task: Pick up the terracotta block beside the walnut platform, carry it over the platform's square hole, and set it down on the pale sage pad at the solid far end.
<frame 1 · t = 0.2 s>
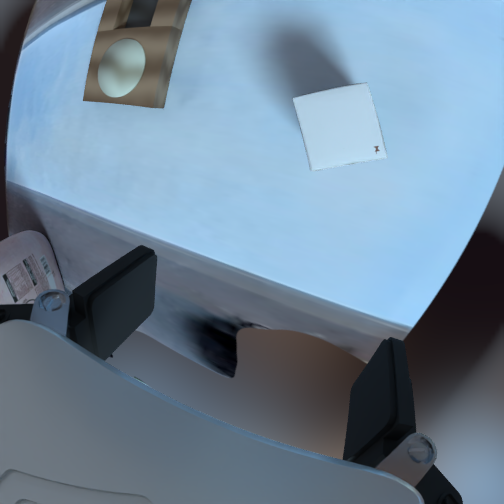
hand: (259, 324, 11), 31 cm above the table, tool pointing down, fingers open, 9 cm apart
supplement box: (342, 128, 35), on the table
packaged food: (55, 263, 64), on the table
hole platform: (140, 36, 36), on the table
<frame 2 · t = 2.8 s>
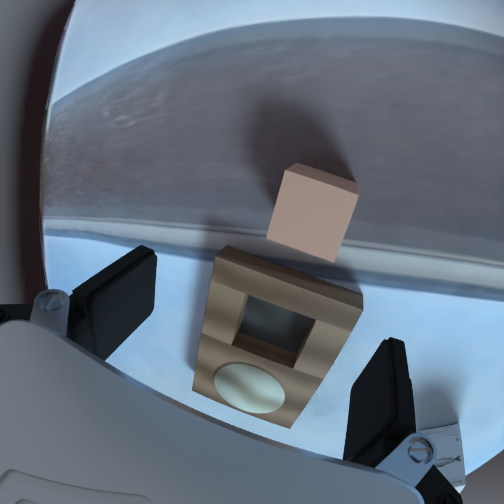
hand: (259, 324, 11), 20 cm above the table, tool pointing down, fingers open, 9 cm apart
block: (317, 200, 29), on the table
supplement box: (436, 435, 36), on the table
hole platform: (266, 347, 38), on the table
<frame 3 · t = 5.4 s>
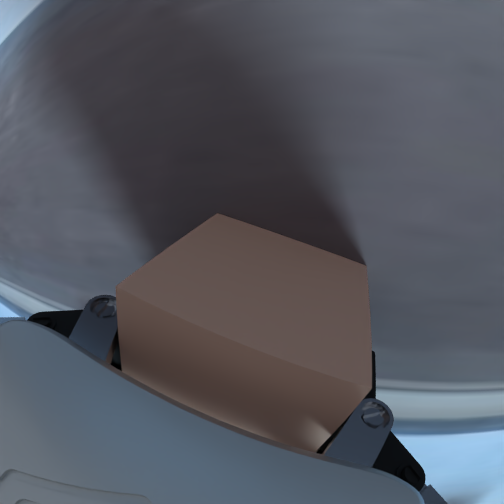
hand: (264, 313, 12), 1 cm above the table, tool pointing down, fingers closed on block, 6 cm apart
block: (270, 302, 12), on the table, touching gripper
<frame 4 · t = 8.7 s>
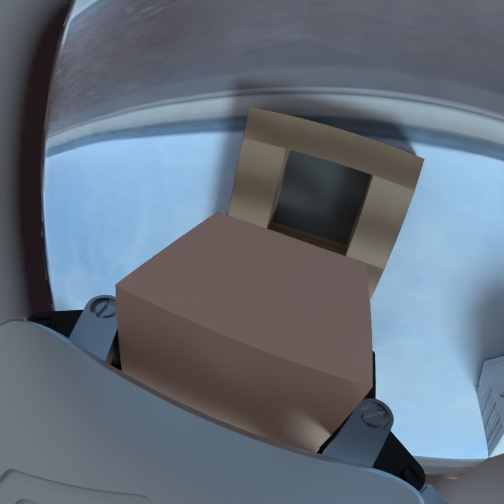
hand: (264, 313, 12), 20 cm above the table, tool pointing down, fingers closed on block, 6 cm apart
block: (270, 301, 12), point 19 cm above the table, touching gripper
supplement box: (498, 370, 29), on the table
hole platform: (307, 241, 31), on the table
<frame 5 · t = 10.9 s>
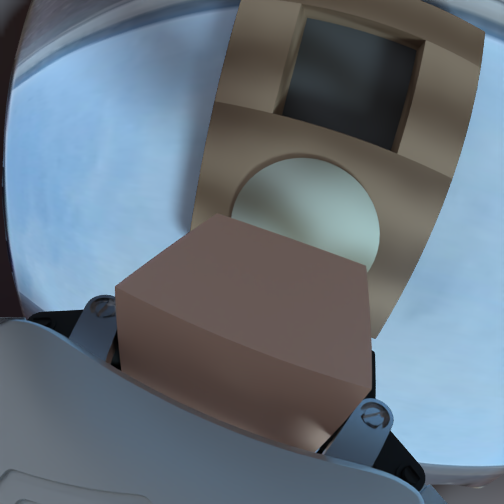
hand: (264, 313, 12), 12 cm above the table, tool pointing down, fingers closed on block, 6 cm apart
block: (269, 302, 12), point 11 cm above the table, touching gripper
hole platform: (333, 144, 19), on the table
when the fingers open (6 cm above the table, at t = 12.5 s): block drops 2 cm, resting on hole platform.
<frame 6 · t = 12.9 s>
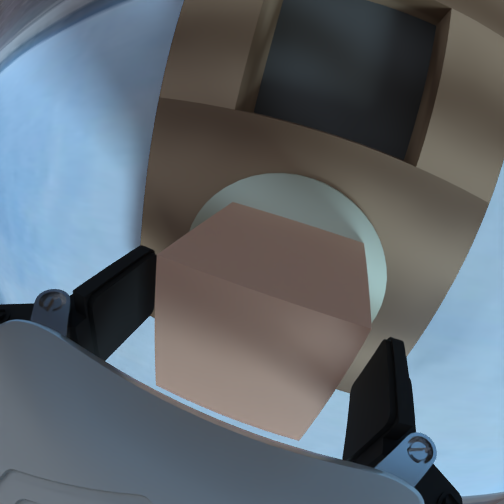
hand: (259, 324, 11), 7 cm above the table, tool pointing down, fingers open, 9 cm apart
block: (280, 280, 14), point 3 cm above the table, touching hole platform
hole platform: (324, 151, 14), on the table
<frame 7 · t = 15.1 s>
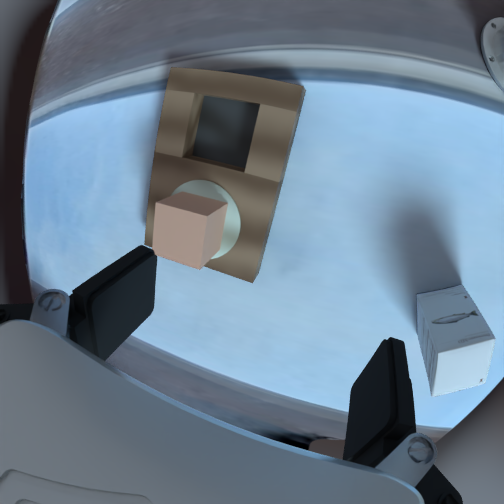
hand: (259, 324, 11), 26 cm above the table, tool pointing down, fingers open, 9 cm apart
block: (201, 220, 36), point 3 cm above the table, touching hole platform
supplement box: (438, 309, 35), on the table
hole platform: (219, 169, 36), on the table
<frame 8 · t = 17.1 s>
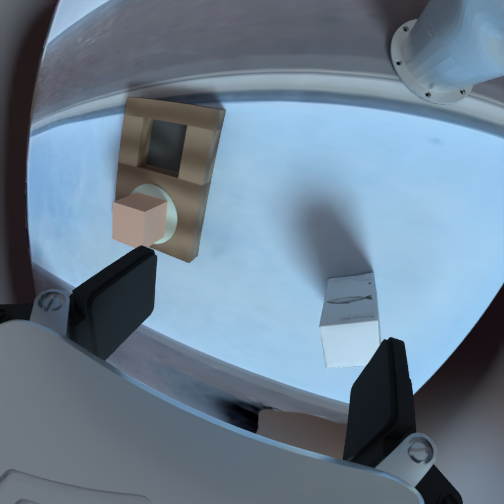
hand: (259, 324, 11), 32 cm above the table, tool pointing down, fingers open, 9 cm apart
block: (150, 214, 46), point 3 cm above the table, touching hole platform
supplement box: (353, 294, 45), on the table
hole platform: (165, 175, 46), on the table
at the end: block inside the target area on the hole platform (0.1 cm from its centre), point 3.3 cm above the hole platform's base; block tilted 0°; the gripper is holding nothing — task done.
